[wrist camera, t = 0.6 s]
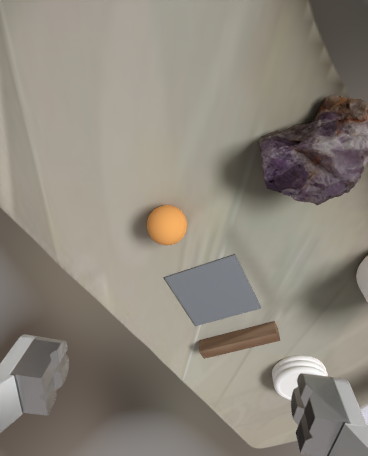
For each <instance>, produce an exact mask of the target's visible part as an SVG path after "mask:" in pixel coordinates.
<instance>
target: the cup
mask: <svg viewBox="0 0 368 456" xmlns="http://www.w3.org/2000/svg"><path fill="white" fill-rule="evenodd" d="M356 280H357V284H358V286H359V288H360V290H361V292H362V293H363V295H364V297H365V299H366V301H367V303H368V256H366V257H365V258H364V259H363V261H362V262H361V263H360V265H359V267H358V270H357V274H356Z"/></svg>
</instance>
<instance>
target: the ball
mask: <svg viewBox="0 0 368 456" xmlns="http://www.w3.org/2000/svg"><path fill="white" fill-rule="evenodd" d="M147 230H148V233H149V235H150V237H151V238H152V239H153V240H154V241H155V242H157V243H159V244H162V245H172V244H175V243H177V242H179V241H180V240H181V239H182V238H183V237H184V235H185V233H186V230H187V220H186V217H185V215H184V214H183V212H182V211H181V210H180V209H178V208H177V207H174V206H171V205H163V206H159V207H157V208H156V209H154V210H153V211H152V212H151V214H150V215H149V217H148V220H147Z"/></svg>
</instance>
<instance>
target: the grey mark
mask: <svg viewBox="0 0 368 456" xmlns="http://www.w3.org/2000/svg"><path fill="white" fill-rule="evenodd" d="M164 278H165V280H166V281H167V283H168V284H169V286H170V288H171V289H172V291H173V292H174V294H175V295H176V297H177V298H178V300H179V301H180V303H181V304H182V306H183V307H184V309H185V310H186V312H187V314H188V315H189V317H190V318H191V320H192V321H193V323H194V324H195V326H197V325H201V324H205V323H209V322H212V321H216V320H220V319H223V318H227V317H231V316H234V315H238V314H242V313H245V312H249V311H253V310H257V309H260V308H261V306H260V304H259V302H258V300H257V298H256V296H255V294H254V292H253V290H252V288H251V286H250V284H249V282H248V280H247V278H246V276H245V274H244V272H243V270H242V268H241V266H240V263H239V261H238V259H237V257H236V255H235V254H234V255H231V256H228V257H225V258H222V259H219V260H216V261H213V262H210V263H207V264H203V265H200V266H197V267H194V268H191V269H188V270H185V271H182V272H179V273H176V274H173V275H170V276H167V277H164Z"/></svg>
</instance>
